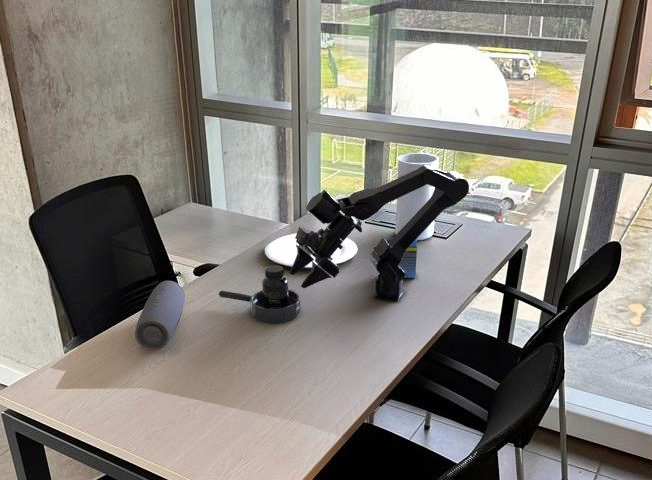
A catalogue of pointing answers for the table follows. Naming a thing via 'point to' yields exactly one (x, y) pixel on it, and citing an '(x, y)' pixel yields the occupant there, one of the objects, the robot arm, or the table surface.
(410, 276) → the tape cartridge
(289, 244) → the plate
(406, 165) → the cylinder vase
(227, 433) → the table surface
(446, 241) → the table surface
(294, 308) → the pan
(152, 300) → the bluetooth speaker
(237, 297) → the pan handle
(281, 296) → the supplement bottle
